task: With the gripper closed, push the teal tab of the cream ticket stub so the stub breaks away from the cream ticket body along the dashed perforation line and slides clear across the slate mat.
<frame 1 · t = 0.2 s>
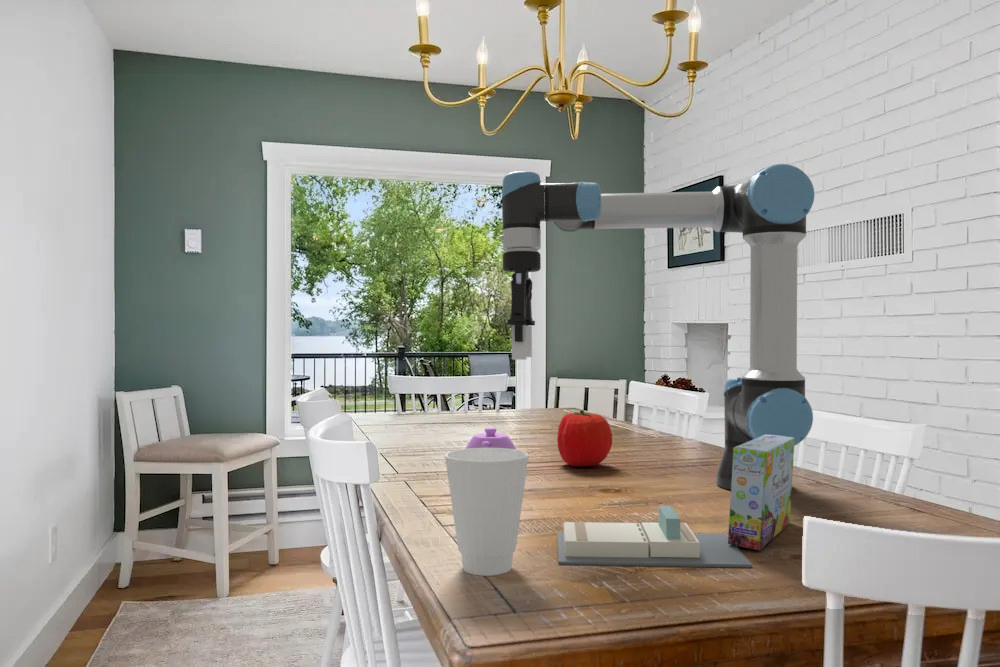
hand: (522, 358, 149), 28 cm above the table, fingers open, 13 cm apart
cup: (487, 569, 105), on the table
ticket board: (643, 549, 114), on the table
tomato: (583, 467, 184), on the table
snack box: (761, 535, 122), on the table, touching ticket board
teapot: (491, 473, 177), on the table
stub: (669, 529, 114), point 3 cm above the table, slide at 0.0 cm
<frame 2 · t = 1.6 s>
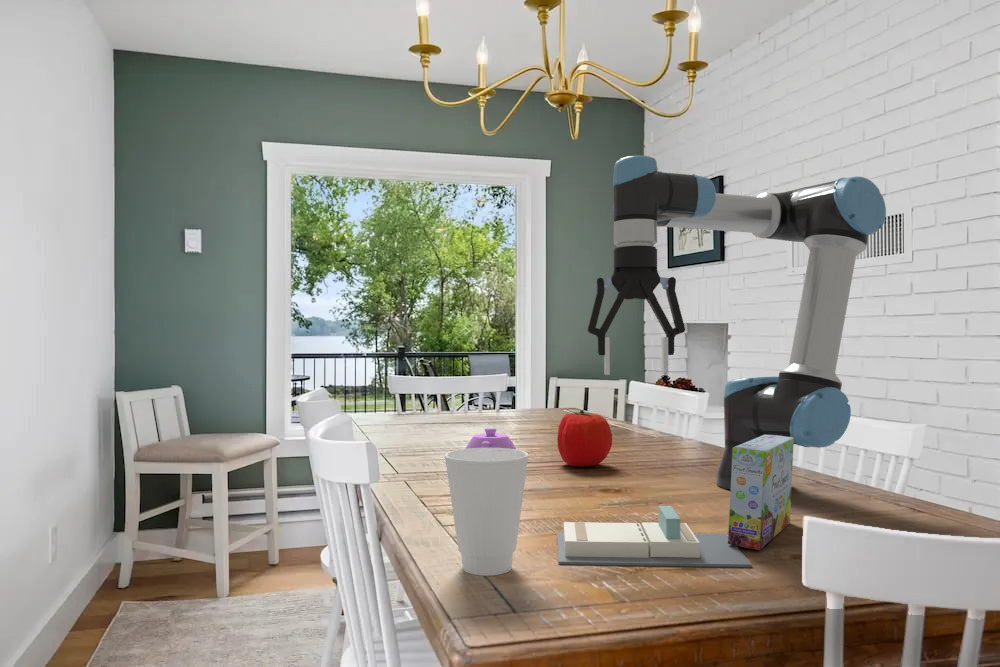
hand: (635, 374, 132), 26 cm above the table, fingers open, 9 cm apart
nothing on the table moved.
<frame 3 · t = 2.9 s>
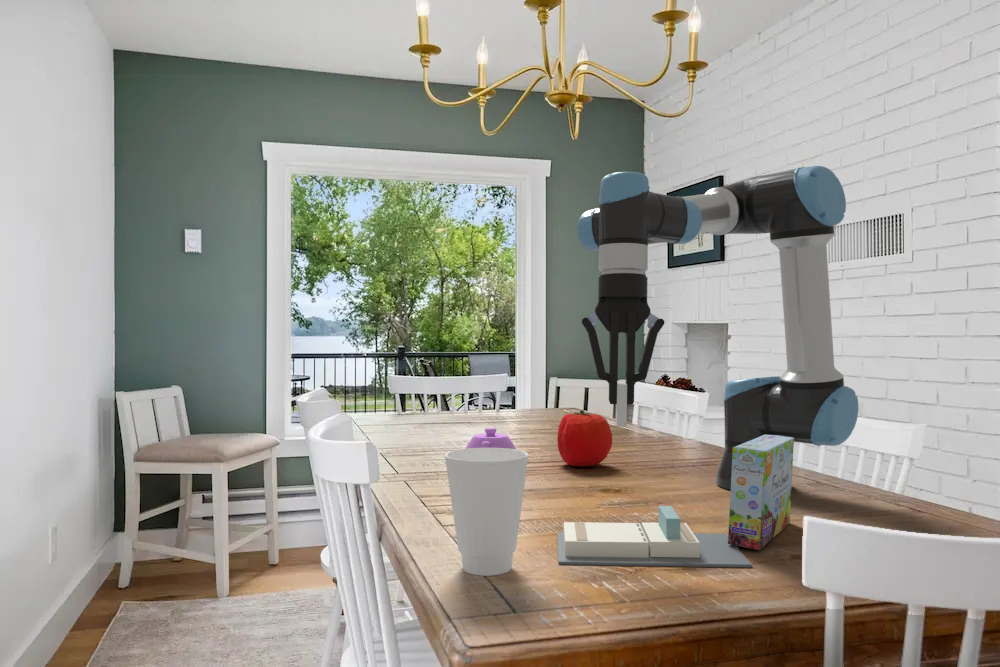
hand: (621, 425, 116), 18 cm above the table, fingers closed
nothing on the table moved.
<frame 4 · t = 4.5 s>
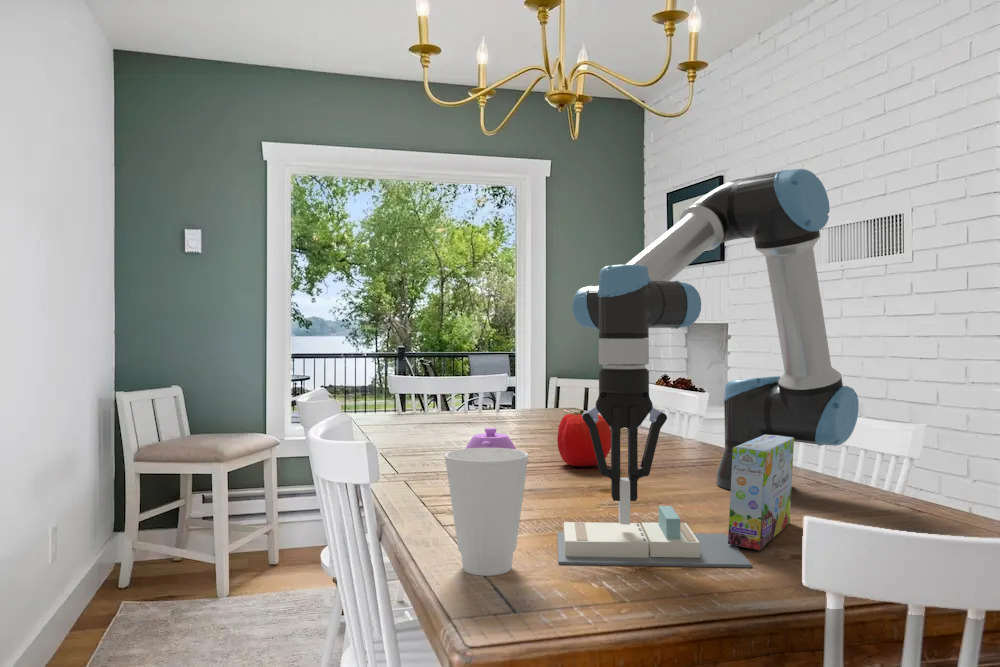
hand: (624, 522, 114), 4 cm above the table, fingers closed
nothing on the table moved.
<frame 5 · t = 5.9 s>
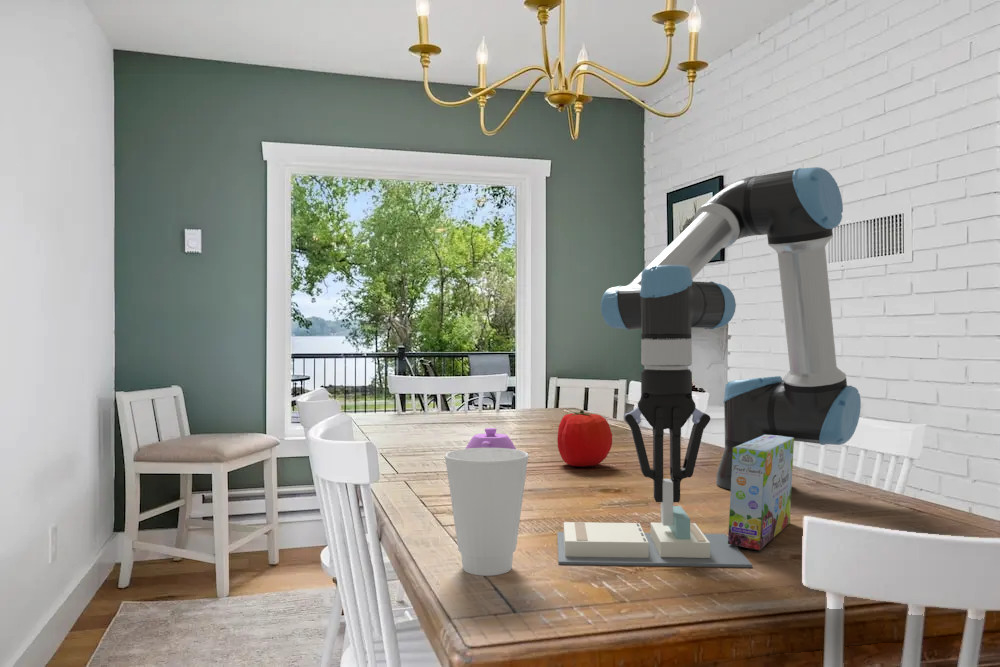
hand: (666, 523, 114), 4 cm above the table, fingers closed
stub: (678, 529, 114), point 3 cm above the table, slide at 1.4 cm, touching gripper
everything else where it was.
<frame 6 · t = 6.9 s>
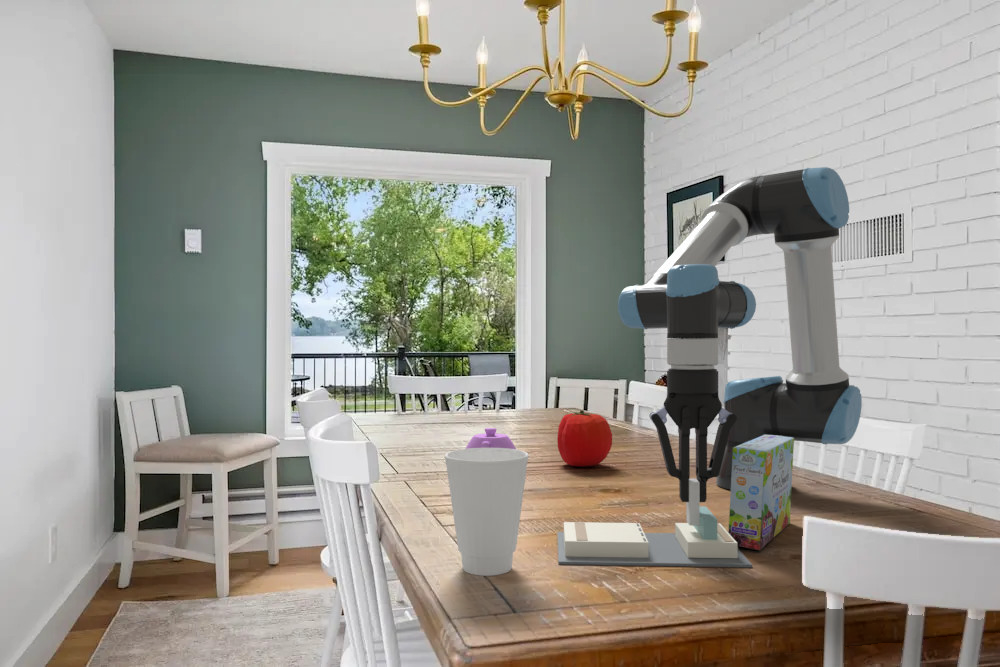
hand: (692, 523, 113), 4 cm above the table, fingers closed
stub: (704, 529, 113), point 3 cm above the table, slide at 5.3 cm, touching gripper
everything else where it was.
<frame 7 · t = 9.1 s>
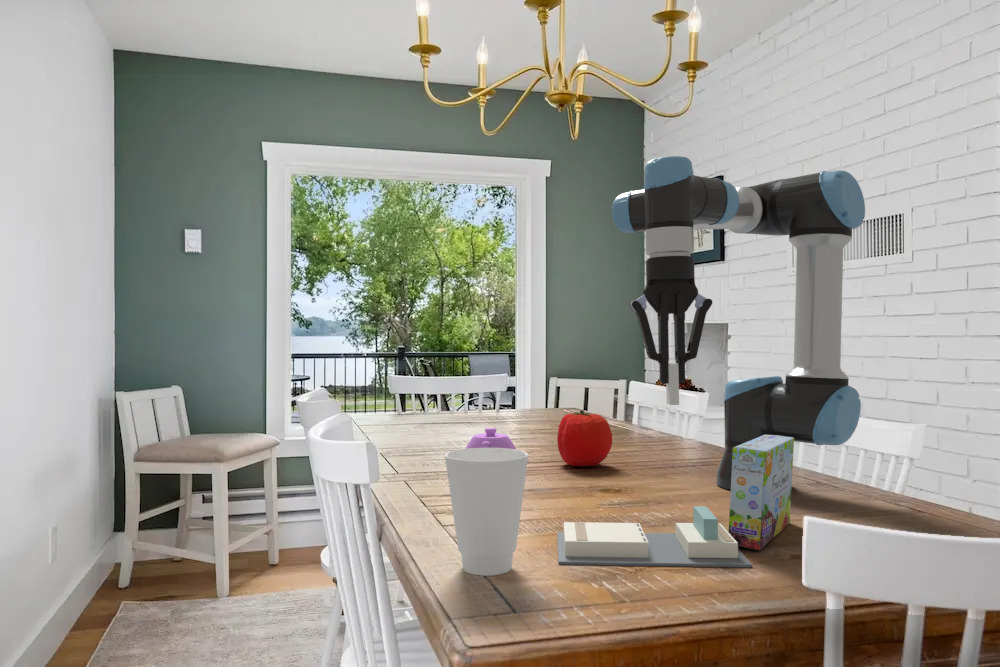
hand: (672, 403, 120), 21 cm above the table, fingers closed
stub: (705, 529, 113), point 3 cm above the table, slide at 5.4 cm
everything else where it was.
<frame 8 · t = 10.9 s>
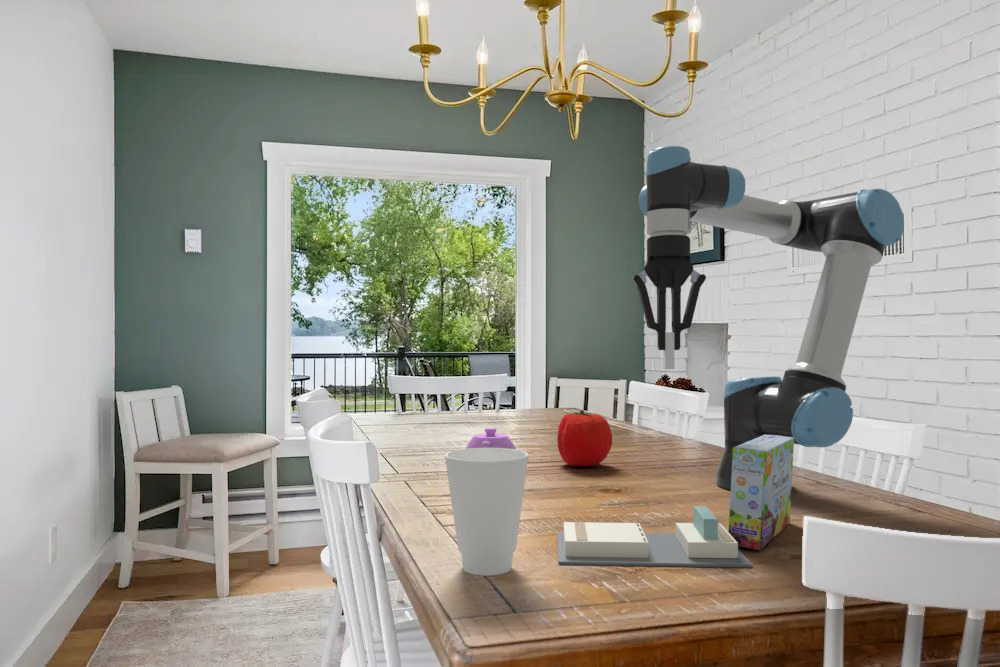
hand: (668, 368, 133), 26 cm above the table, fingers closed
nothing on the table moved.
at the end: stub slide at 5.4 cm; the gripper is holding nothing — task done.
